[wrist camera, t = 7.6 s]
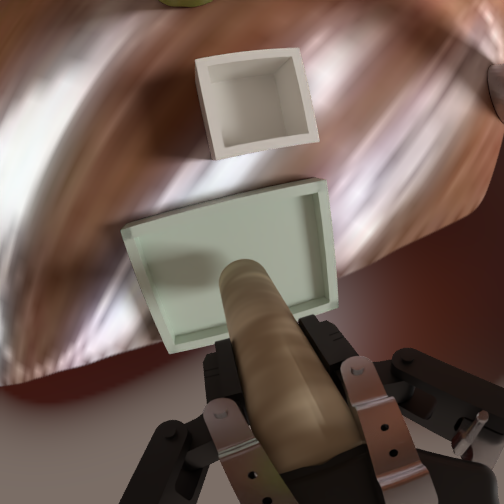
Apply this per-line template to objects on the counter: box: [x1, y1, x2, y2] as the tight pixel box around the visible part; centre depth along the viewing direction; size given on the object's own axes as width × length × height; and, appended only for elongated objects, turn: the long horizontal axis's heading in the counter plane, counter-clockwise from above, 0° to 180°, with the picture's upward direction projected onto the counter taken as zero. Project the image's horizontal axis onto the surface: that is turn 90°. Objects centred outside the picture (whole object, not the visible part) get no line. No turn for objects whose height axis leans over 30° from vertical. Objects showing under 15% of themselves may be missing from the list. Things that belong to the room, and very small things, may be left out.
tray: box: [120, 177, 338, 354], centre depth 22 cm, size 15×11×2 cm
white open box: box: [195, 48, 320, 160], centre depth 16 cm, size 6×6×5 cm
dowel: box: [219, 259, 363, 474], centre depth 13 cm, size 3×3×14 cm
